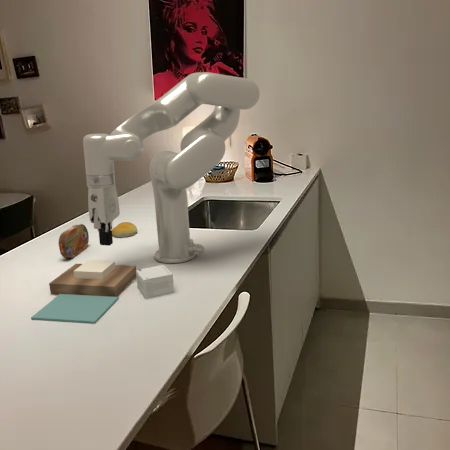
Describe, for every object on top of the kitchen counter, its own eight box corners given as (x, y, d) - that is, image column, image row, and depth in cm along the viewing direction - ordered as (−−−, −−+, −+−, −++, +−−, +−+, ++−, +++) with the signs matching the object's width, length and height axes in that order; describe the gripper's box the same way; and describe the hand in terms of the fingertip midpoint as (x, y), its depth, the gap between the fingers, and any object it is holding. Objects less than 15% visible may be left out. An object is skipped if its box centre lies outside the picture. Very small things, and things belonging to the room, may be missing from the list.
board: (136, 276, 141) (135, 265, 141) (115, 297, 128) (114, 286, 127) (77, 273, 145) (75, 263, 144) (50, 294, 132) (49, 283, 131)
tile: (115, 267, 140) (114, 261, 139) (102, 279, 132) (101, 272, 132) (88, 266, 142) (87, 260, 141) (74, 278, 134) (73, 271, 134)
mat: (118, 298, 128) (118, 296, 128) (95, 323, 116) (94, 321, 115) (60, 295, 131) (60, 293, 131) (31, 319, 119) (31, 317, 119)
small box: (175, 292, 130) (173, 273, 129) (144, 299, 127) (142, 280, 126) (165, 282, 137) (164, 264, 135) (136, 288, 134) (134, 269, 133)
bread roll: (108, 238, 176) (106, 227, 175) (119, 230, 184) (118, 219, 183) (130, 239, 174) (129, 227, 173) (140, 231, 182) (139, 220, 181)
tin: (68, 262, 155) (64, 235, 152) (59, 261, 156) (55, 235, 153) (90, 245, 169) (87, 221, 167) (82, 245, 170) (78, 220, 167)
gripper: (101, 186, 132) (107, 253, 137) (124, 175, 146) (129, 237, 151) (74, 185, 133) (81, 252, 138) (100, 174, 147) (105, 236, 152)
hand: (106, 244), depth 144 cm, fingers closed
